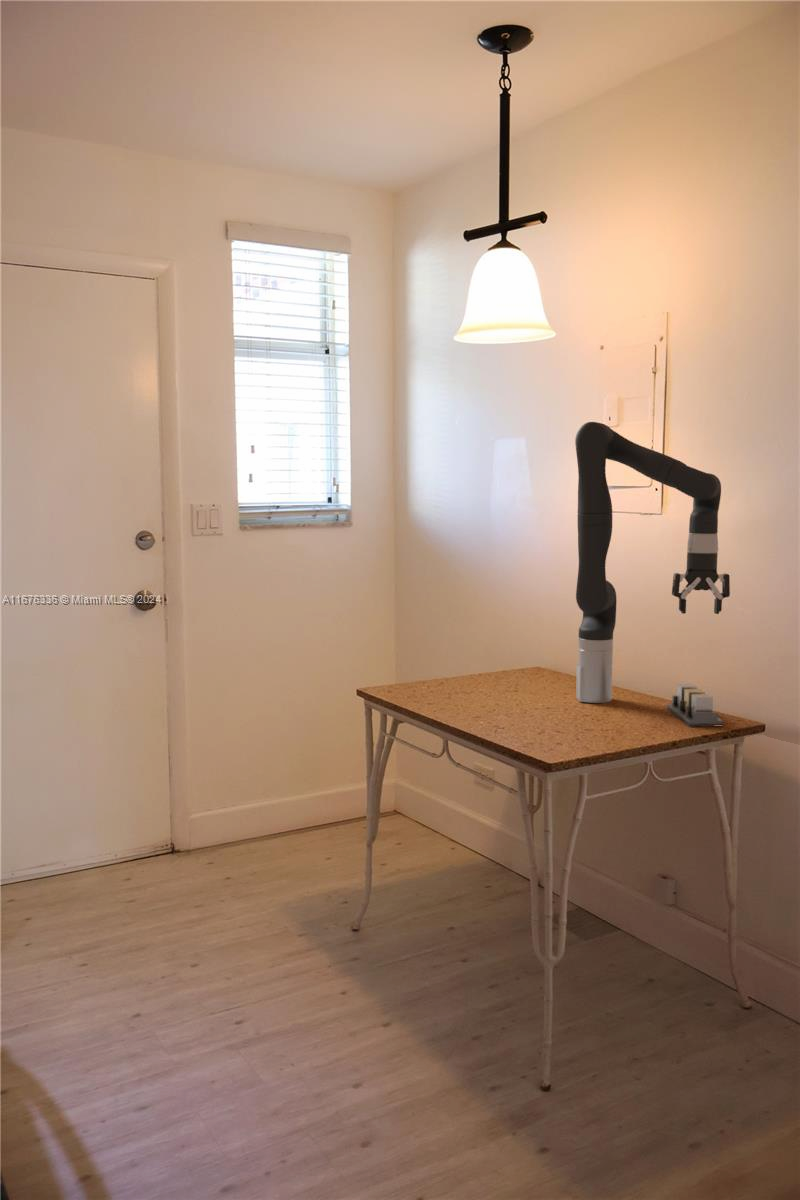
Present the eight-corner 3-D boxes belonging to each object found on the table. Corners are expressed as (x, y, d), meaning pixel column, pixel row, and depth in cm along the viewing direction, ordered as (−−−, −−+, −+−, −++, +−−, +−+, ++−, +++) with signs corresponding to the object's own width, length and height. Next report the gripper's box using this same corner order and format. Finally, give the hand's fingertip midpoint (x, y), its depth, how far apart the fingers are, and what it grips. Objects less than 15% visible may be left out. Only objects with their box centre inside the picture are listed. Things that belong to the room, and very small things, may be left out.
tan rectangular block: (683, 712, 251) (684, 689, 251) (699, 712, 251) (700, 689, 251) (688, 715, 247) (688, 692, 247) (704, 715, 247) (705, 692, 247)
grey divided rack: (689, 726, 239) (690, 699, 238) (667, 708, 260) (668, 683, 259) (722, 726, 239) (723, 699, 238) (697, 708, 260) (698, 683, 259)
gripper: (726, 550, 258) (723, 612, 260) (671, 549, 259) (668, 611, 261) (734, 552, 251) (731, 615, 253) (678, 551, 251) (675, 614, 253)
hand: (699, 613), depth 257 cm, fingers open, 8 cm apart
